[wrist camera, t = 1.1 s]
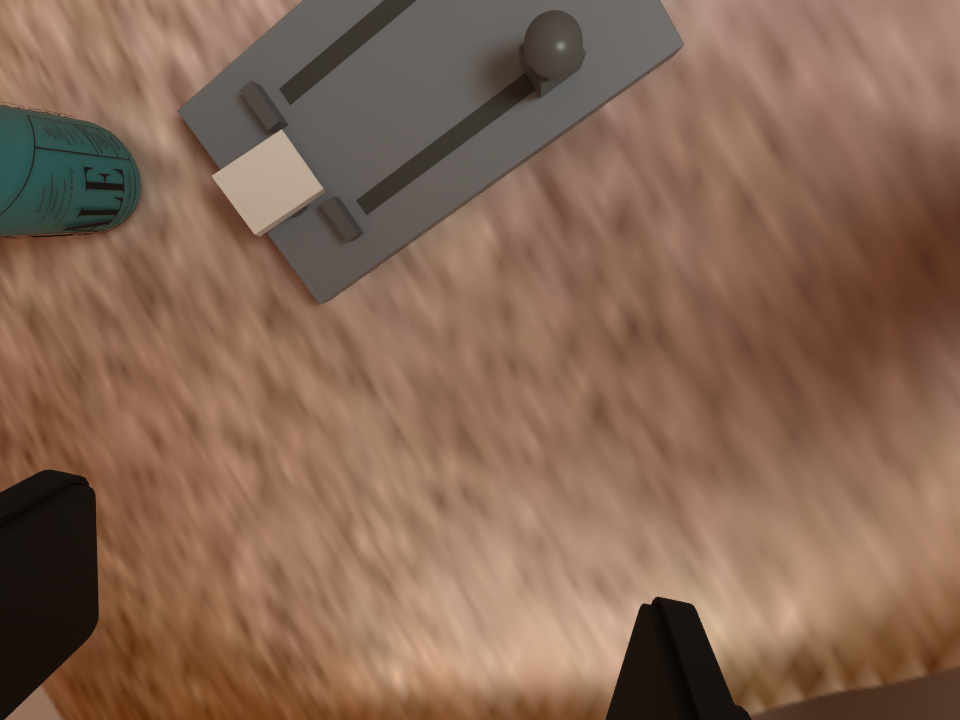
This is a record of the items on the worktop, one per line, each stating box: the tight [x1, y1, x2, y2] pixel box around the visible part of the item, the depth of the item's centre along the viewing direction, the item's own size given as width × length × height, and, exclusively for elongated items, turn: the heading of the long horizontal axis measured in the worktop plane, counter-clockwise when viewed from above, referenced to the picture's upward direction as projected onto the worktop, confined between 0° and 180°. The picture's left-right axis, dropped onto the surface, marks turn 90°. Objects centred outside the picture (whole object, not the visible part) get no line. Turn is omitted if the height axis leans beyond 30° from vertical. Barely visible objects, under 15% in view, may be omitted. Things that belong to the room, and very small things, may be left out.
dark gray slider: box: [519, 10, 586, 98], centre depth 26 cm, size 3×3×4 cm
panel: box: [178, 0, 684, 305], centre depth 29 cm, size 24×13×3 cm, turn 124°
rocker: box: [212, 129, 326, 237], centre depth 29 cm, size 4×4×1 cm
